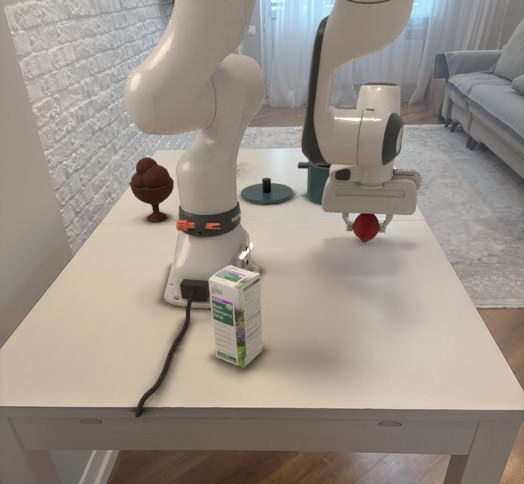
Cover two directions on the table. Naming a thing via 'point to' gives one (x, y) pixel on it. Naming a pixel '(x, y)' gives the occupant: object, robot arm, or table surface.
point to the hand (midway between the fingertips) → (365, 231)
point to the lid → (266, 192)
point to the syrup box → (236, 314)
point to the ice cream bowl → (152, 186)
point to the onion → (366, 227)
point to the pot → (315, 180)
